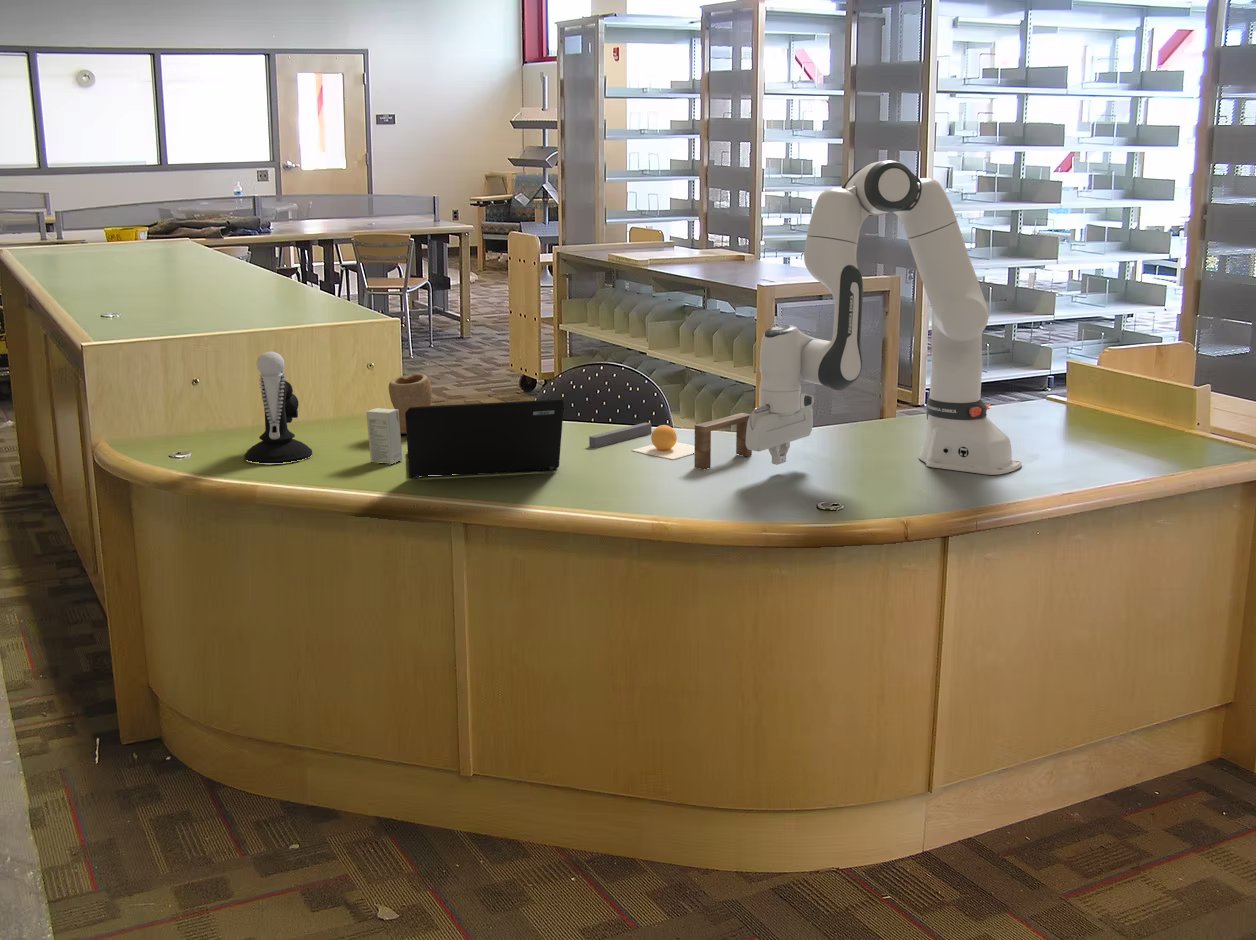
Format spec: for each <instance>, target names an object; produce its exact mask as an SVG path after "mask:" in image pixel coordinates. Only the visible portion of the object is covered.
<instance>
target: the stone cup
mask: <svg viewBox="0 0 1256 940" xmlns="http://www.w3.org/2000/svg"><path fill="white" fill-rule="evenodd" d="M388 394H389V399H390V401H391V405H392V406H393V409H398V410H399V422H400V434H403V435H407V434H406V419H405V412H406V411H407V410H408V409H409V407H422V406H432V400H433V399H432V397H433V389H432V384H431V380H430V378H429V377H428V376H427V375H425V374H423V373H417V372H416V373H413V374H410V375H400V376H397V377H394V378H393V379H392V380H390V382H389V384H388Z"/></svg>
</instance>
